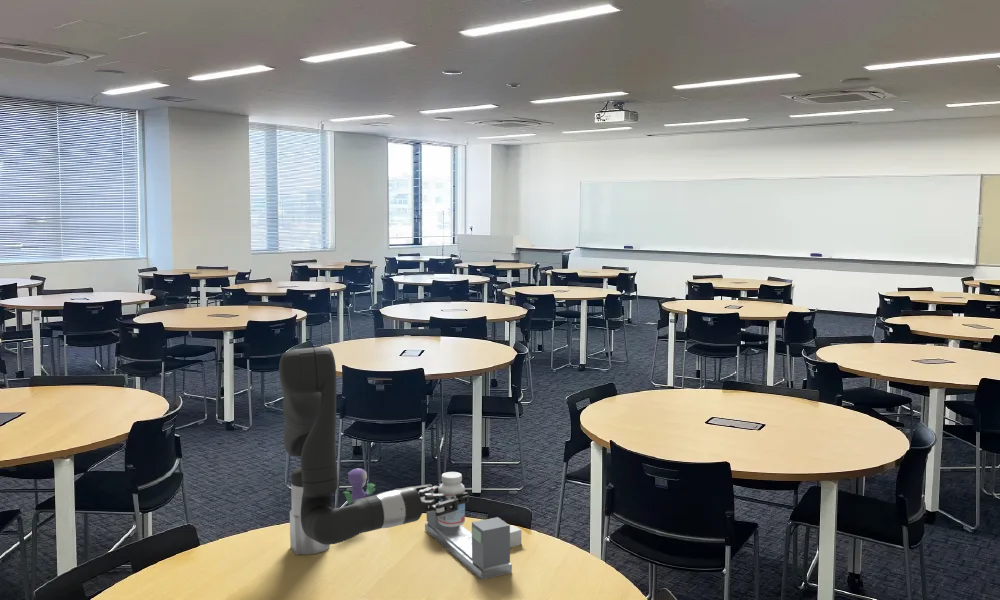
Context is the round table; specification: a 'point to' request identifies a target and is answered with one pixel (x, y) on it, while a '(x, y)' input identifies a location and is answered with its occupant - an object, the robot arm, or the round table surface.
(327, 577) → the round table surface
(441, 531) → the rail
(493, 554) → the modules
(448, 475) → the pill bottle
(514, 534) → the box
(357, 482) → the toy
